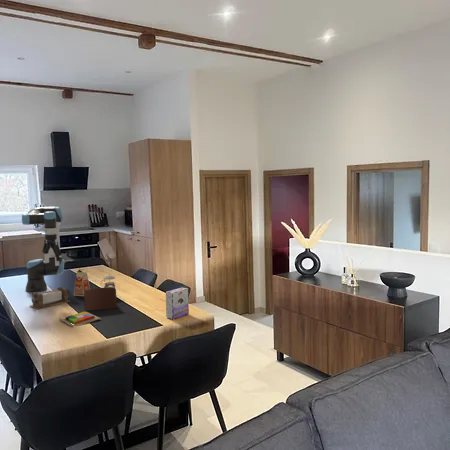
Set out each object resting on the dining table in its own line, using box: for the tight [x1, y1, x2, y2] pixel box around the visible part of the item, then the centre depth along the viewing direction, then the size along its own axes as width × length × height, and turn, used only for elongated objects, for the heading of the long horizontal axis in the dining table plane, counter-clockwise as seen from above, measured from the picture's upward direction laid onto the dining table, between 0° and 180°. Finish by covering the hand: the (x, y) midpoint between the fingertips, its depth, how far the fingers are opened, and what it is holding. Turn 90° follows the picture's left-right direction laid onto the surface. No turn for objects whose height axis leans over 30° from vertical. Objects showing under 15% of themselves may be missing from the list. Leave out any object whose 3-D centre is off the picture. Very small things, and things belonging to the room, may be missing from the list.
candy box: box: [165, 287, 190, 320], centre depth 258 cm, size 14×6×16 cm, turn 141°
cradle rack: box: [29, 286, 72, 310], centre depth 288 cm, size 10×24×9 cm, turn 142°
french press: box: [99, 261, 117, 298], centre depth 306 cm, size 10×12×25 cm
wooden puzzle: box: [59, 310, 102, 327], centre depth 253 cm, size 18×19×4 cm
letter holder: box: [83, 287, 118, 312], centre depth 279 cm, size 10×20×14 cm, turn 110°
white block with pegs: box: [30, 289, 63, 304], centre depth 288 cm, size 5×24×6 cm, turn 142°
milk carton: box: [73, 268, 91, 297], centre depth 313 cm, size 9×9×20 cm
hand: (52, 264), depth 297 cm, fingers open, 13 cm apart
